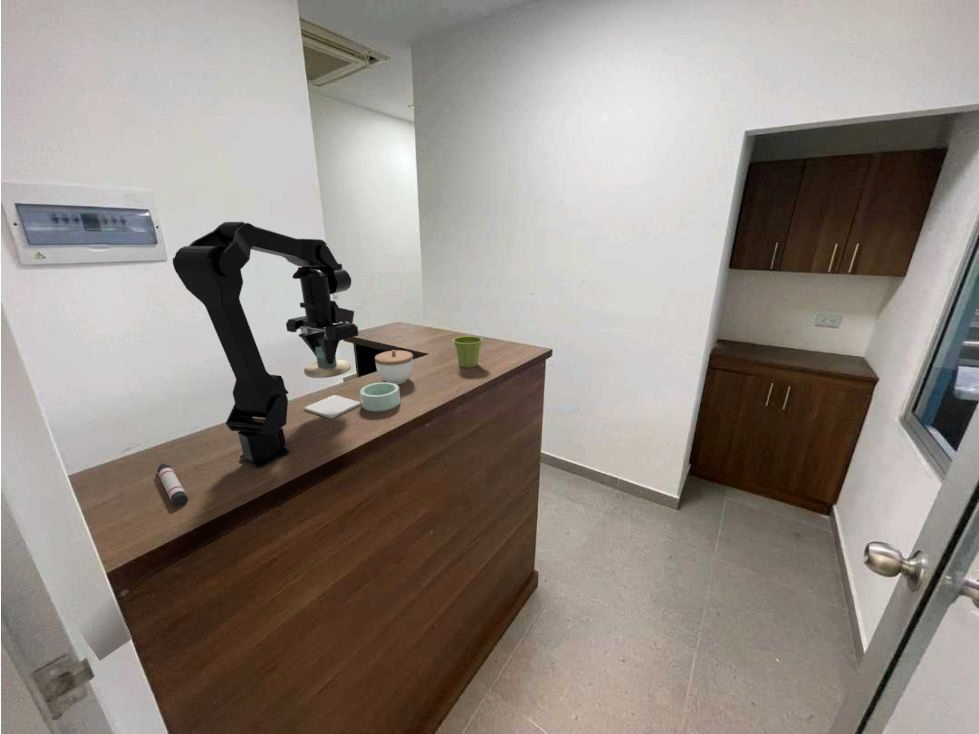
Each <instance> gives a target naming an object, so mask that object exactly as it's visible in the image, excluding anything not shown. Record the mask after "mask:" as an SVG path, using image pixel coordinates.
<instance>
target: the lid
mask: <svg viewBox="0 0 979 734" xmlns="http://www.w3.org/2000/svg"><path fill="white" fill-rule="evenodd" d="M315 351H316V356H315V357H316V361H315V362H313V363H310V364H307V365H306V366H305V367H304V368H303V372H304V375H305V376H306V377H307V378H314V379H325V378H332V377H333V378H334V377H338V376H341V375H343V374H346V373H348V372H349V371H351V369H352V367H351V363H350V362H349V361H347V360H345V359H337V357H336V355H335V359H334V363H333V364H329V363H328V361H327V359H326V357H325V355H324V353H323V350H322V348H321V346H318V347H315Z"/></svg>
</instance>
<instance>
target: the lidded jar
mask: <svg viewBox="0 0 979 734" xmlns="http://www.w3.org/2000/svg"><path fill="white" fill-rule="evenodd" d="M374 361H375V367H376V371H377V374H378V376H379V377H380V378H381V379H382V381H385V382H390V383H394V384H397V385H401V384H403V383H405V382H407V380H408V379H409V378H410V377H411V375H412V372H413V367H414V355H413V353H412V352H410V351H407V350H395V349H392V350H389V351H383V352H381V353H378V354H376V355H375V356H374Z"/></svg>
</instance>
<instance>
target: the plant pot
mask: <svg viewBox="0 0 979 734" xmlns="http://www.w3.org/2000/svg"><path fill="white" fill-rule="evenodd" d="M452 342H453V343H454V347H455V349H456V350H455V351H456V355H457V359H458V365H459V367H465V369H466V368H475V367H476V366H478V364H479V355H480V350H481V349H480V347H481V344H482V342H483V339H482V338H481V337H479V336H473V335H472V336H471V335H465V336H459V337H455V338H453V339H452Z"/></svg>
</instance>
